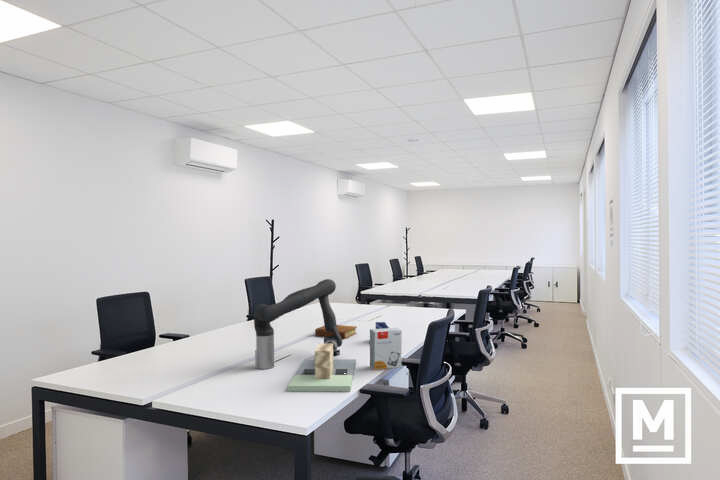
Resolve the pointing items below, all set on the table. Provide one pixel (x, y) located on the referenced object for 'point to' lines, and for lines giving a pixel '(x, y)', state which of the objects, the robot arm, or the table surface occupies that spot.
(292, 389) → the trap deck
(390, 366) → the hard drive box
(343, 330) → the diary
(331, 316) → the robot arm
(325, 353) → the maple block
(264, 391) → the table surface
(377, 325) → the phone stand
